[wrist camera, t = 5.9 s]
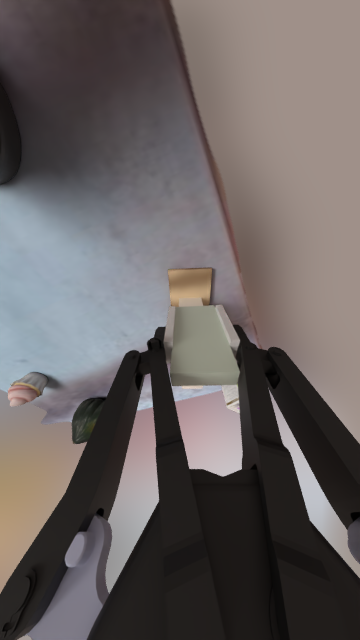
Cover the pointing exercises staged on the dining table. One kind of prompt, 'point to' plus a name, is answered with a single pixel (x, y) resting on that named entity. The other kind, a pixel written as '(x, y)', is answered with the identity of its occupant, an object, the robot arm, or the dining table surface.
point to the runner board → (190, 284)
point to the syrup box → (231, 396)
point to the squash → (85, 419)
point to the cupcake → (27, 388)
